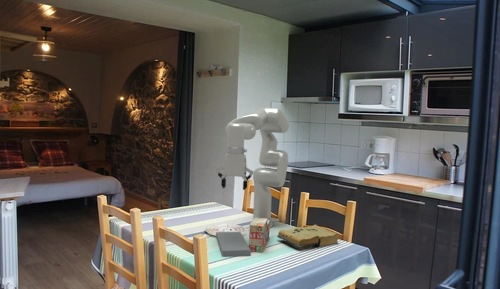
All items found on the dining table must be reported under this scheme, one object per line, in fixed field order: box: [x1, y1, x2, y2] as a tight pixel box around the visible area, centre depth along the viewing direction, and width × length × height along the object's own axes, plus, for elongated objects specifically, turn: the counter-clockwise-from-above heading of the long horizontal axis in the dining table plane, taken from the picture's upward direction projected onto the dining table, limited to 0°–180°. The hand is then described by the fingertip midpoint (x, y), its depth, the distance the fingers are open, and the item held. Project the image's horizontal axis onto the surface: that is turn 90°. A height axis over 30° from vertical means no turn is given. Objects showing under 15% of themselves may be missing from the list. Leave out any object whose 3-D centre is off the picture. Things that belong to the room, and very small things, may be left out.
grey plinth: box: [215, 231, 252, 258], centre depth 174 cm, size 12×26×2 cm, turn 11°
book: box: [276, 224, 339, 250], centre depth 183 cm, size 25×17×6 cm
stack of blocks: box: [248, 218, 271, 254], centre depth 177 cm, size 21×6×12 cm, turn 169°
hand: (234, 188), depth 174 cm, fingers open, 9 cm apart
